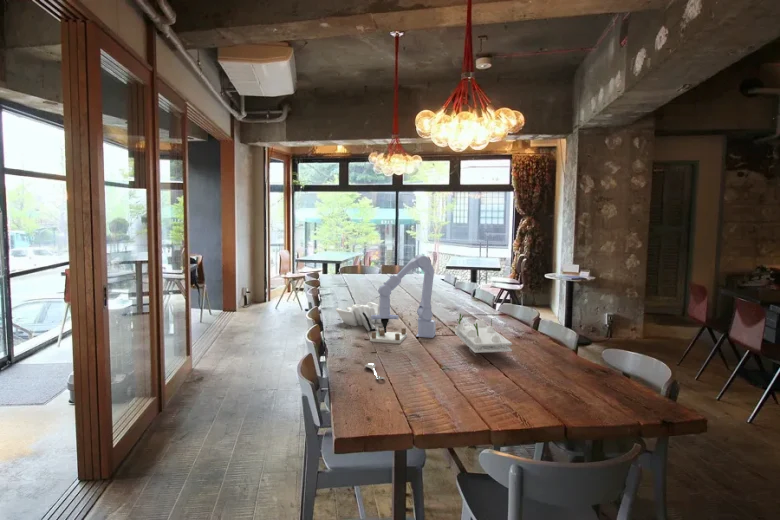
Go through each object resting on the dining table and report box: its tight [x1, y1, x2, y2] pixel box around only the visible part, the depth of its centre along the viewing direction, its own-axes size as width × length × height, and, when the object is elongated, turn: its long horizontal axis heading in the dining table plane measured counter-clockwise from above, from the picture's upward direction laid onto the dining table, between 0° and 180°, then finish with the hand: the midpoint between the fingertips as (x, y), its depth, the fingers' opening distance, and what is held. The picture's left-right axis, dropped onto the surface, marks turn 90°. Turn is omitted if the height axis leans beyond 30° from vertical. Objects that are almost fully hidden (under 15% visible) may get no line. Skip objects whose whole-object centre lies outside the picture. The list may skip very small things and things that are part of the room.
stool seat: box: [369, 327, 408, 344], centre depth 250 cm, size 16×16×4 cm
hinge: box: [359, 312, 377, 332], centre depth 274 cm, size 17×5×10 cm, turn 14°
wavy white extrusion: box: [335, 302, 392, 327], centre depth 290 cm, size 35×16×11 cm, turn 114°
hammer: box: [377, 325, 385, 335], centre depth 254 cm, size 9×3×3 cm, turn 6°
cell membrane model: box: [453, 313, 513, 357], centre depth 225 cm, size 35×21×17 cm, turn 7°
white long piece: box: [364, 362, 385, 380], centre depth 193 cm, size 20×4×5 cm
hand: (385, 332), depth 251 cm, fingers closed, pressing on hammer
